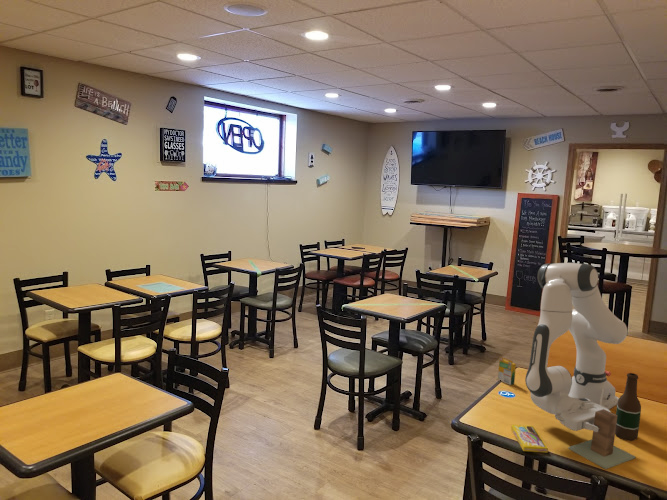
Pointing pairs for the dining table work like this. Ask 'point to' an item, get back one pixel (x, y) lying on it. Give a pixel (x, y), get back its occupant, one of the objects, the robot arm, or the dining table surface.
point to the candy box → (529, 438)
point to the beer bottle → (628, 411)
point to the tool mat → (605, 462)
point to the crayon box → (506, 371)
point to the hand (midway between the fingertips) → (606, 427)
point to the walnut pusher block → (604, 433)
